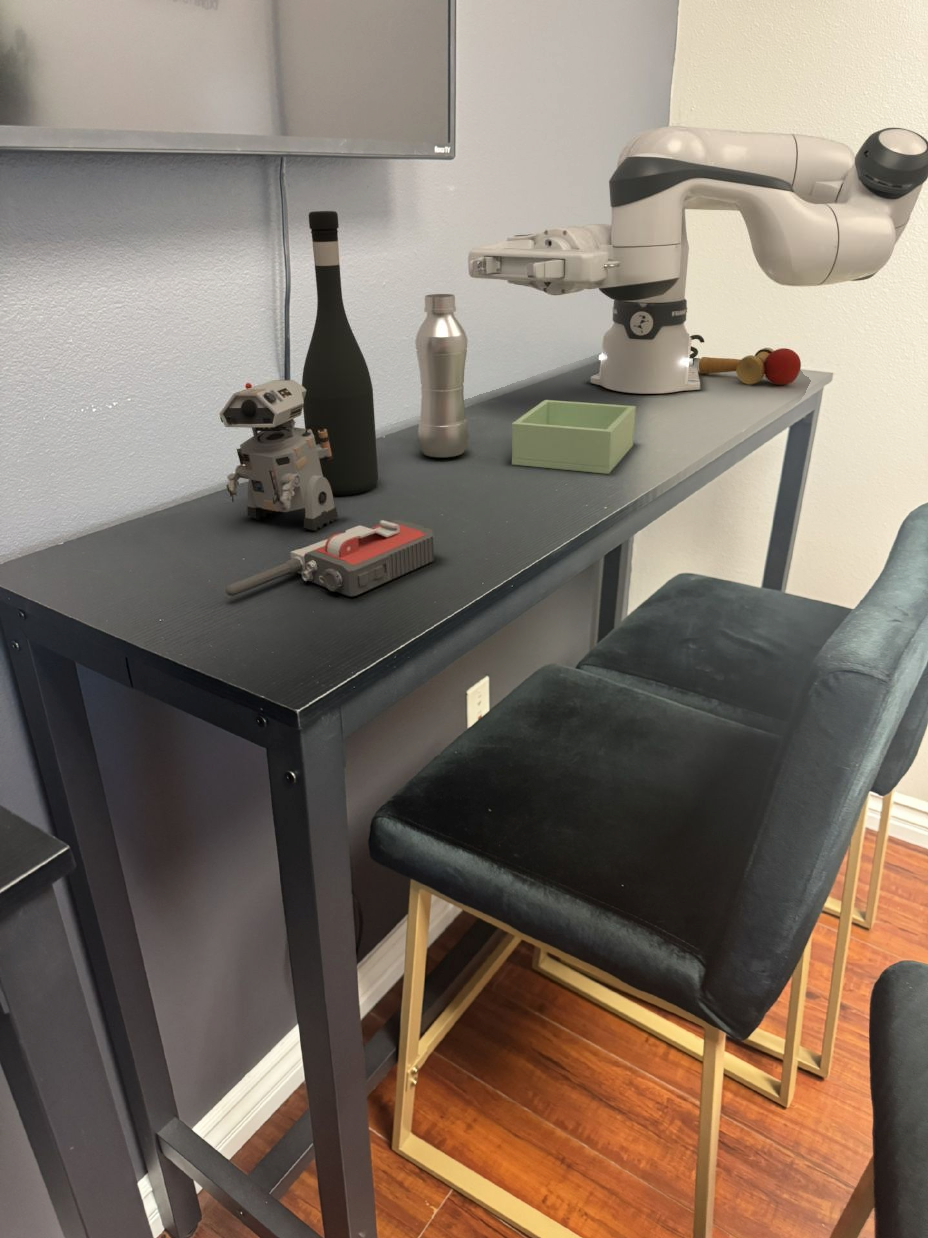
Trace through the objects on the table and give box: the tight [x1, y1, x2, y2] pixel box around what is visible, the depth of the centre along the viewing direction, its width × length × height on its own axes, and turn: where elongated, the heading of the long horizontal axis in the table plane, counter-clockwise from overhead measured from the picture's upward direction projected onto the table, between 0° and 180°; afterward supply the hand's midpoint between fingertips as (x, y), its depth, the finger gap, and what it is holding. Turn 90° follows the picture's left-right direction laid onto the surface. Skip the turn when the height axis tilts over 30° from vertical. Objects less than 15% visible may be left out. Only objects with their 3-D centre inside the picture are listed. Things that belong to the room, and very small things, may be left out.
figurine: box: [219, 379, 338, 532], centre depth 92 cm, size 9×12×15 cm
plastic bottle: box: [414, 293, 470, 458], centre depth 114 cm, size 6×7×20 cm
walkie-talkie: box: [225, 518, 435, 598], centre depth 82 cm, size 9×4×20 cm
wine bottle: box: [301, 210, 379, 496], centre depth 100 cm, size 8×8×30 cm
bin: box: [511, 399, 636, 475], centre depth 116 cm, size 14×13×5 cm
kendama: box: [698, 347, 802, 386], centre depth 156 cm, size 8×6×18 cm
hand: (501, 269), depth 116 cm, fingers open, 8 cm apart
